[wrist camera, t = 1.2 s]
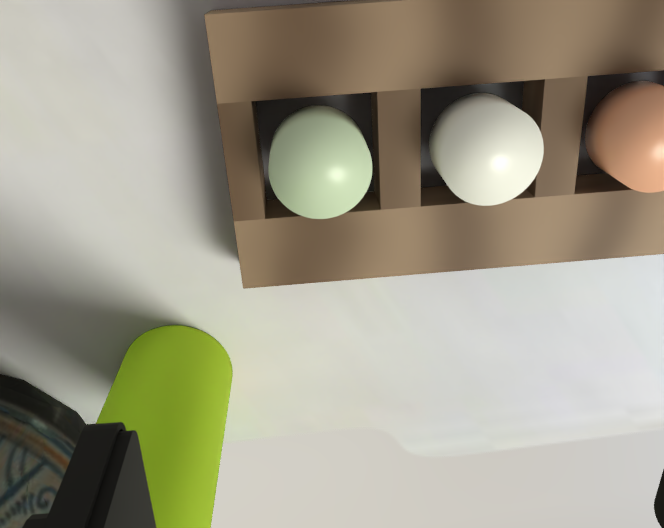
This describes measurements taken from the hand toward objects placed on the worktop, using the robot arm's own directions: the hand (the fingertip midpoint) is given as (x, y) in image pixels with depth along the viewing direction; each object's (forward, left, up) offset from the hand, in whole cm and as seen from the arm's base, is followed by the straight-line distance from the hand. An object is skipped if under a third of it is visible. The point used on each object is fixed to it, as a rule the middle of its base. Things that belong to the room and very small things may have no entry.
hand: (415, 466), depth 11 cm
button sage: (+1, 0, -19) cm, 19 cm away
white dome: (-6, 0, -19) cm, 20 cm away
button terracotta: (-13, 0, -19) cm, 23 cm away
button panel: (-6, 0, -21) cm, 21 cm away
